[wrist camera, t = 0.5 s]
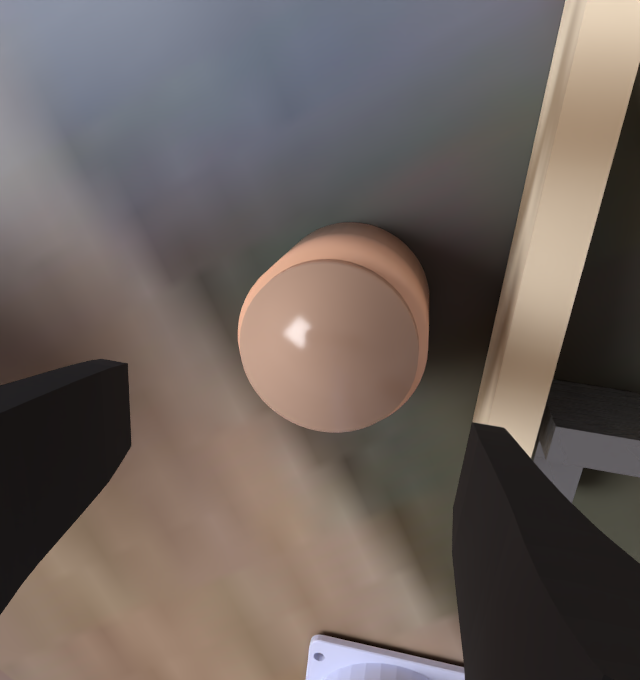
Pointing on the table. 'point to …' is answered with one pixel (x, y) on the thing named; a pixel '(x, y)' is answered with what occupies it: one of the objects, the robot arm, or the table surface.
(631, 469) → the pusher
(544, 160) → the beige flat open box
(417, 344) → the terracotta jar
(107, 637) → the table surface
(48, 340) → the table surface
